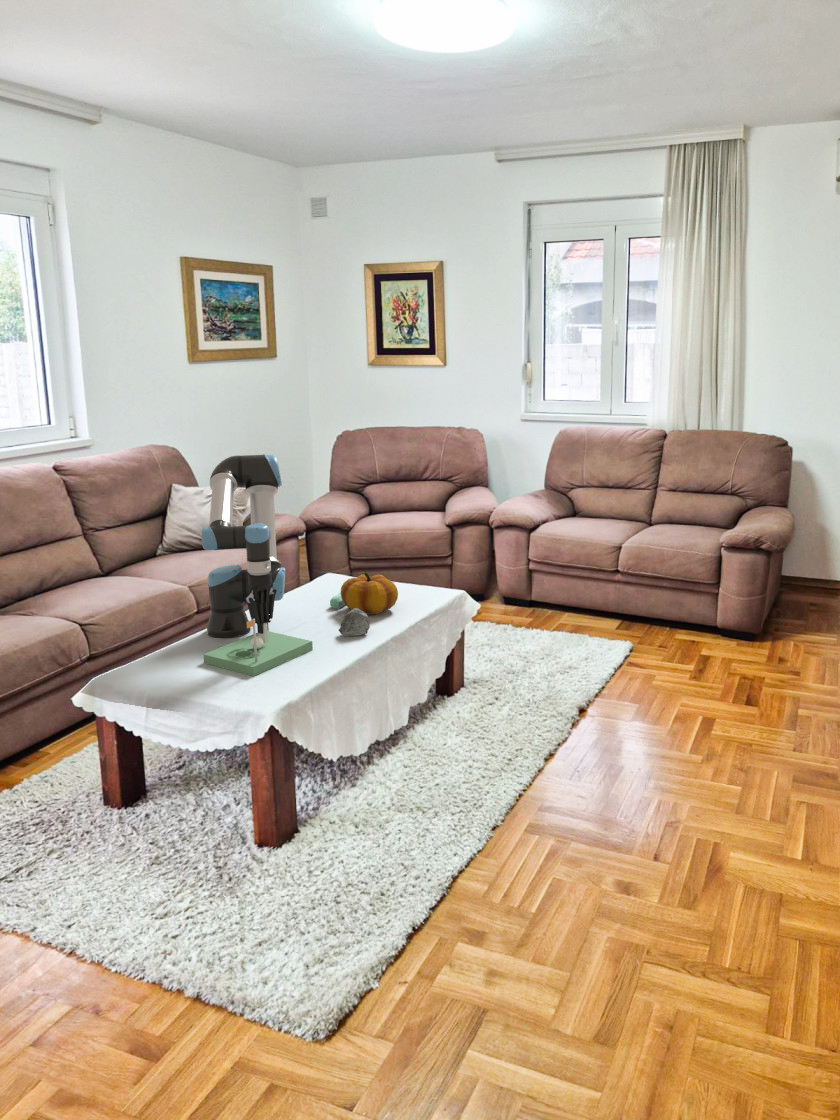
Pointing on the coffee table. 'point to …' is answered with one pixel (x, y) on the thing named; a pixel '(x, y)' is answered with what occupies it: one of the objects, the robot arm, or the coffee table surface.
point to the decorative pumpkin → (369, 593)
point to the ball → (257, 642)
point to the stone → (354, 623)
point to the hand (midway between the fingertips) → (263, 641)
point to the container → (337, 602)
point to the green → (257, 652)
